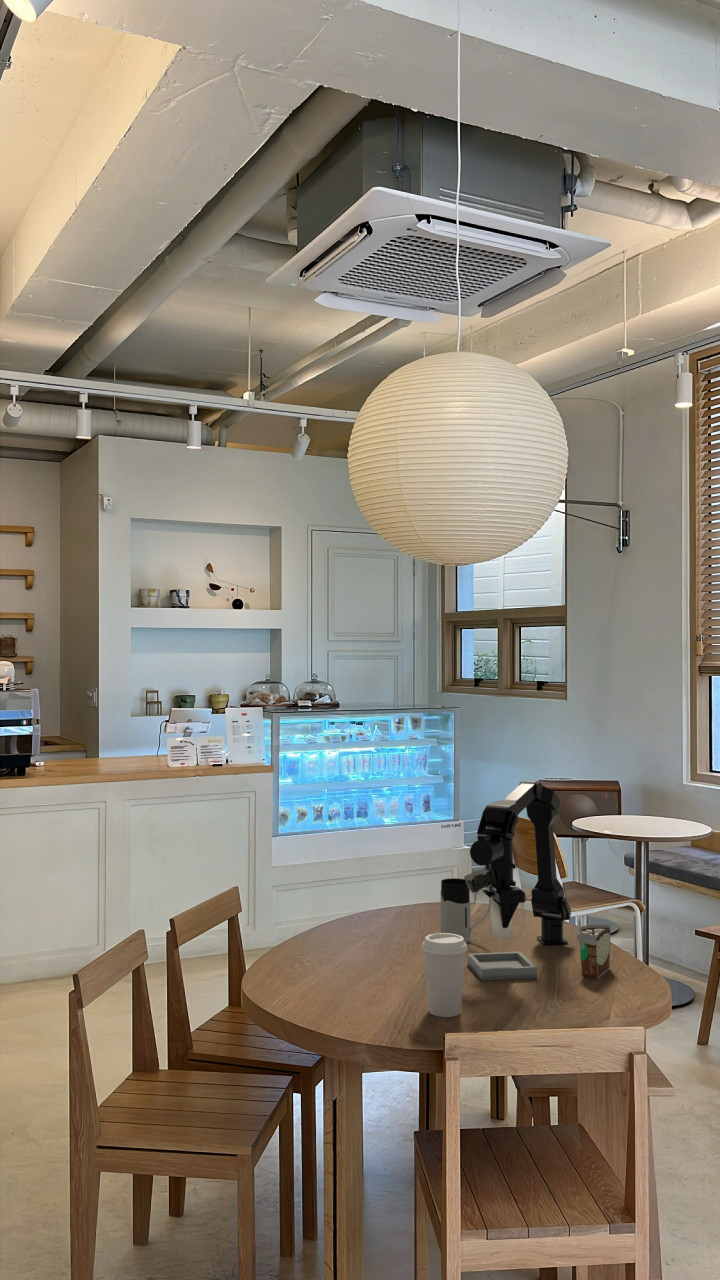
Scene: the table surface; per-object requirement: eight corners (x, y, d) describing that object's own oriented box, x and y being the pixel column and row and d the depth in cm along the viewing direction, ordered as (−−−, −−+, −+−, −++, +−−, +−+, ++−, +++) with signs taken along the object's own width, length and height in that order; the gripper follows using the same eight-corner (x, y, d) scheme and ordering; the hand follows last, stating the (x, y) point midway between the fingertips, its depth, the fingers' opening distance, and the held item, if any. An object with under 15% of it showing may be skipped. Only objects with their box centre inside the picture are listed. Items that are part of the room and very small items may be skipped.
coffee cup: (464, 1003, 204) (464, 931, 205) (471, 1019, 195) (470, 943, 195) (419, 1004, 204) (419, 932, 204) (423, 1020, 194) (423, 944, 195)
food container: (586, 963, 234) (585, 921, 234) (611, 967, 230) (611, 924, 231) (569, 976, 223) (568, 932, 223) (595, 980, 220) (595, 936, 220)
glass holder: (446, 932, 262) (445, 876, 263) (496, 938, 256) (496, 881, 257) (434, 940, 254) (433, 882, 255) (485, 946, 248) (485, 887, 249)
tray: (467, 964, 233) (467, 953, 233) (520, 962, 235) (520, 951, 235) (481, 980, 220) (481, 969, 220) (537, 978, 222) (537, 967, 222)
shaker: (488, 933, 230) (487, 895, 231) (508, 932, 231) (508, 894, 231) (494, 939, 225) (493, 900, 226) (515, 938, 226) (514, 899, 226)
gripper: (457, 852, 237) (458, 916, 236) (478, 867, 218) (479, 937, 218) (501, 850, 238) (502, 914, 238) (525, 865, 220) (526, 935, 220)
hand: (501, 924), depth 228 cm, fingers closed on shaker, 5 cm apart
